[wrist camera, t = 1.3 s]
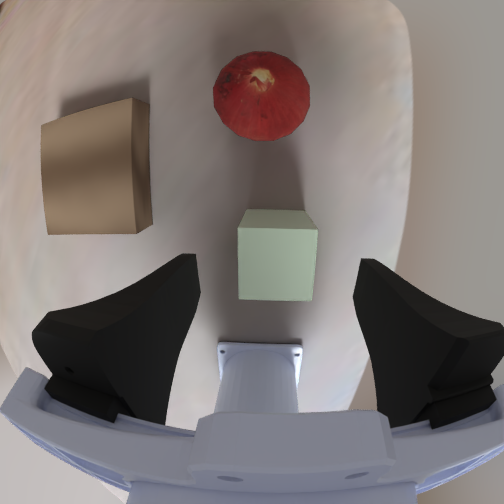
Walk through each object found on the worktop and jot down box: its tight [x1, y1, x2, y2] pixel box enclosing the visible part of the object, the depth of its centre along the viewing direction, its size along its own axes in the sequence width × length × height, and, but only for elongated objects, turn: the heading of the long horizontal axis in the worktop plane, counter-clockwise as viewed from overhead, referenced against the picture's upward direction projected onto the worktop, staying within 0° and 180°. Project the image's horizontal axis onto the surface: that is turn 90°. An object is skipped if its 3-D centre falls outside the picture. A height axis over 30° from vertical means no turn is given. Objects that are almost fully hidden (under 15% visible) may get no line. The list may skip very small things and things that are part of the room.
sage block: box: [238, 209, 318, 301], centre depth 18 cm, size 4×4×6 cm
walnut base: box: [41, 98, 153, 235], centre depth 19 cm, size 10×10×3 cm
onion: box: [213, 51, 310, 141], centre depth 14 cm, size 6×6×8 cm
